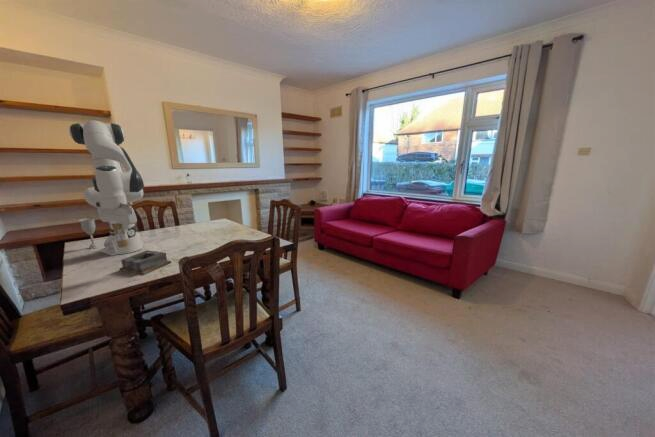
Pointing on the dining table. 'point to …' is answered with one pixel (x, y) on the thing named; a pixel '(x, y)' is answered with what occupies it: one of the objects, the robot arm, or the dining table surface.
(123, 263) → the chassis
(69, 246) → the dining table surface
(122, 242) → the sprinkles bottle
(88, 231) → the chalice
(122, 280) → the dining table surface
